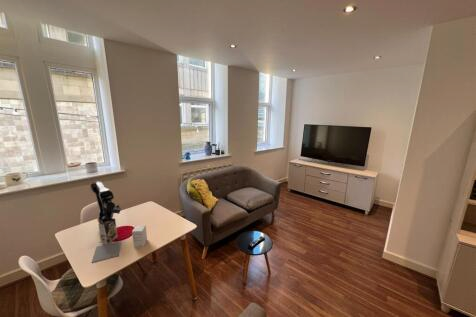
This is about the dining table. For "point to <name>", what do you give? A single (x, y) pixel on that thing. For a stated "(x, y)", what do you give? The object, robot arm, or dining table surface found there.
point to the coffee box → (108, 231)
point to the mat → (106, 251)
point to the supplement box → (139, 235)
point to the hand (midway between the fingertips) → (110, 224)
